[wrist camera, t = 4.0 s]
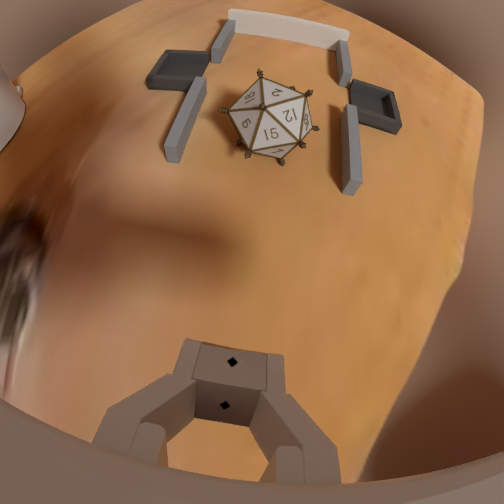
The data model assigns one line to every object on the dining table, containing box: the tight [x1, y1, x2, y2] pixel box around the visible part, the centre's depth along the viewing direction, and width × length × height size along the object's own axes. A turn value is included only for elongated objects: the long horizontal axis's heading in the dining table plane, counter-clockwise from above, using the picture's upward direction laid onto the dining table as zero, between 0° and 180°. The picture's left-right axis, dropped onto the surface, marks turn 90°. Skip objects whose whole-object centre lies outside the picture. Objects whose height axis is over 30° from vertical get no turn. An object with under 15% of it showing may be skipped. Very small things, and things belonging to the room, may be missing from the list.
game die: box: [218, 68, 320, 166], centre depth 26 cm, size 9×8×10 cm
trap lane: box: [146, 9, 402, 196], centre depth 32 cm, size 31×29×4 cm
